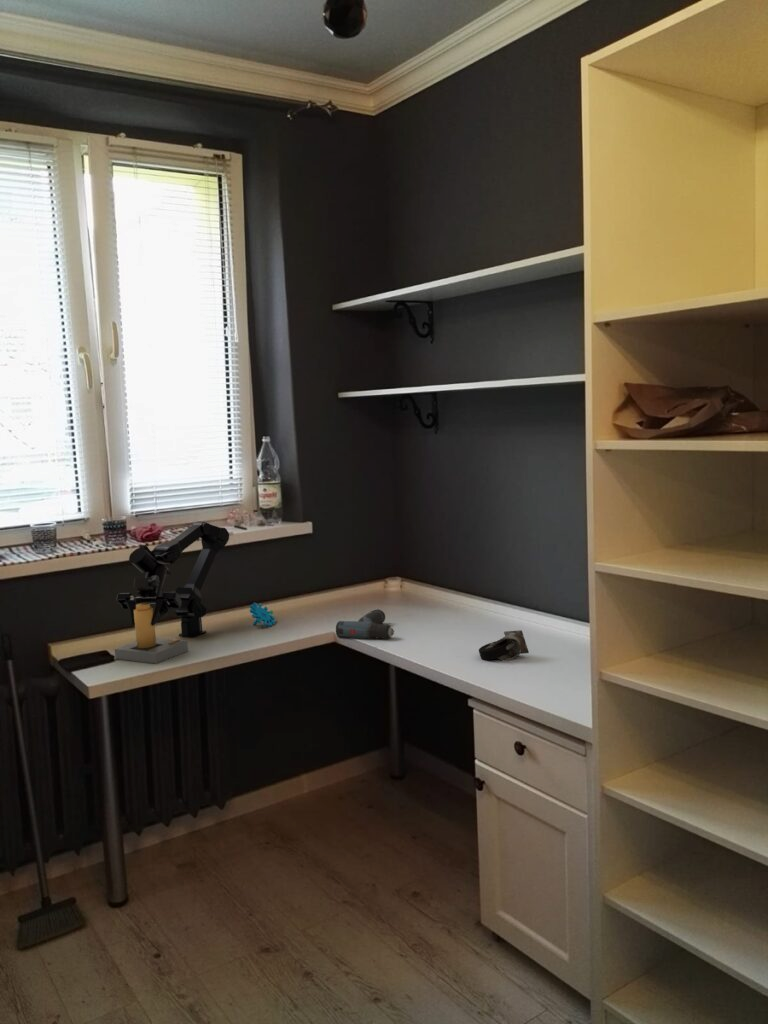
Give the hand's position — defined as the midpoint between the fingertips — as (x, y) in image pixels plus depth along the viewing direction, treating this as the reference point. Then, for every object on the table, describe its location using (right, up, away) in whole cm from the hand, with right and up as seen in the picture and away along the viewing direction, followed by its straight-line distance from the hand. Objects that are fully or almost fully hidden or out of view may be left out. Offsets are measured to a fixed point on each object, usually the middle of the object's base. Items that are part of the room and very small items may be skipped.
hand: (142, 625), depth 257 cm
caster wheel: (+104, -7, -19) cm, 105 cm away
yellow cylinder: (+1, -6, +2) cm, 7 cm away
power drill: (+69, -5, +17) cm, 71 cm away
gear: (+31, -5, +33) cm, 46 cm away
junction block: (+2, -9, +4) cm, 10 cm away
